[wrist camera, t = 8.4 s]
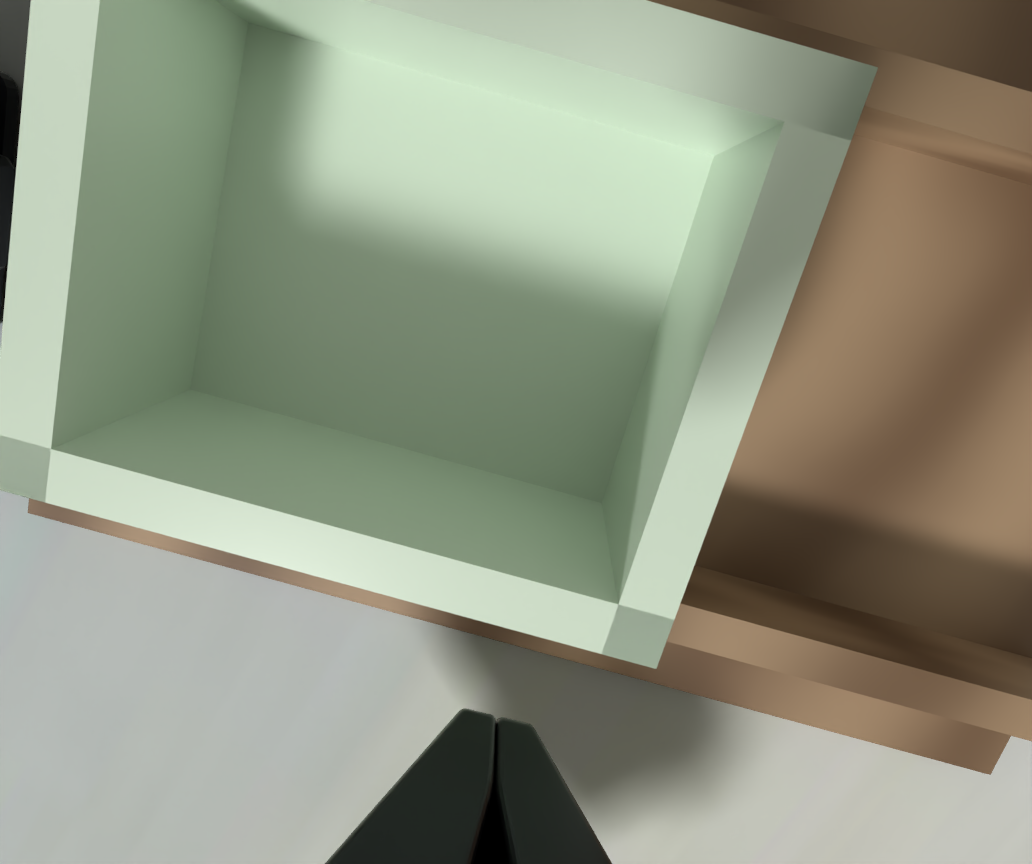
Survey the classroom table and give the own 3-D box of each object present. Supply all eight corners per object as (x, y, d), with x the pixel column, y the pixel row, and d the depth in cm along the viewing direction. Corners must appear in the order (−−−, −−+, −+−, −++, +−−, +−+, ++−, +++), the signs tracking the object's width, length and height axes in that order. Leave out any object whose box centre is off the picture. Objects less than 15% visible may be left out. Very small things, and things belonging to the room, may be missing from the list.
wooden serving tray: (52, 499, 21) (-46, 551, 18) (136, -252, 16) (25, -378, 13) (970, 750, 21) (1048, 846, 18) (1310, 92, 17) (1500, 57, 13)
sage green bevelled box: (164, 408, 19) (-12, 487, 13) (229, -28, 16) (45, -175, 10) (625, 535, 19) (656, 669, 13) (763, 126, 16) (878, 67, 11)
